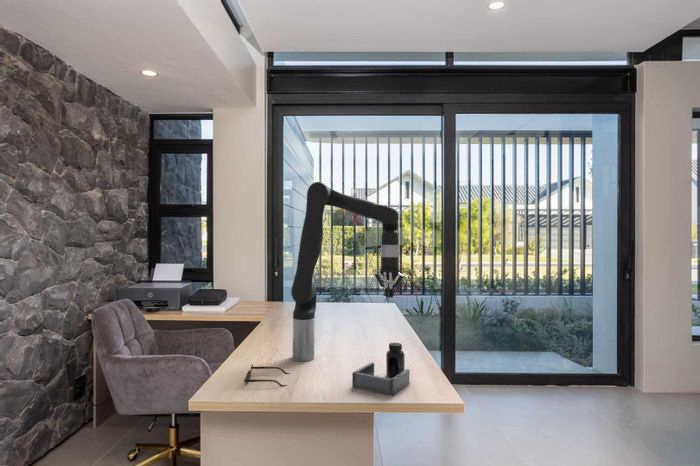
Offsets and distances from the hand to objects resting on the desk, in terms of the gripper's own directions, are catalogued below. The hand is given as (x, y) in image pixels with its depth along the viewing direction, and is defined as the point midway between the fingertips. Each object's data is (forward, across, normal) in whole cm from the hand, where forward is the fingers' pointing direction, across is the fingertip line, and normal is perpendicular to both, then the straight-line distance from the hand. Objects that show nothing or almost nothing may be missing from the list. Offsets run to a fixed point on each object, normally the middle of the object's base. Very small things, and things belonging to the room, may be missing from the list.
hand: (389, 297), depth 177 cm
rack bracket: (+27, +10, -25) cm, 38 cm away
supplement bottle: (+27, +10, -14) cm, 32 cm away
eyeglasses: (+28, -28, -43) cm, 58 cm away
